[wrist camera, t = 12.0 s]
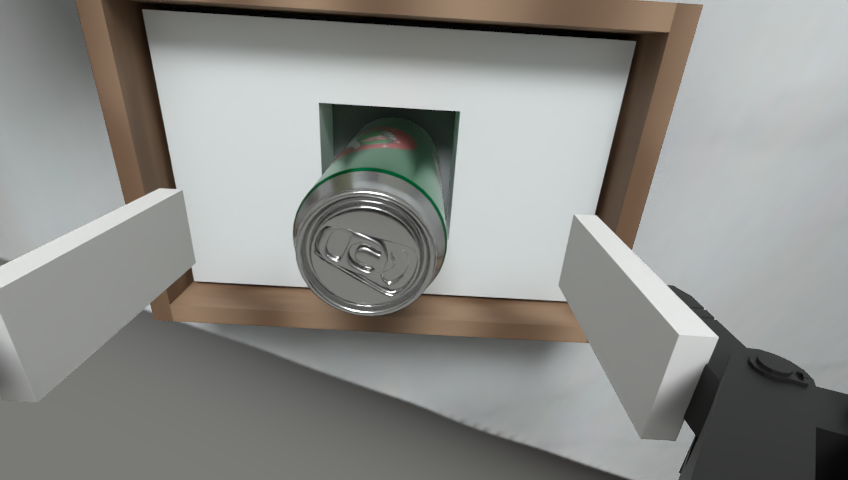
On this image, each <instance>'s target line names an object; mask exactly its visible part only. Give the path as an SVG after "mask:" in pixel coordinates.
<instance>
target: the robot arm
mask: <svg viewBox="0 0 848 480" xmlns="http://www.w3.org/2000/svg"><path fill="white" fill-rule="evenodd" d="M195 263H196V261H195V255H194V250H193V244H192V239H191V233H190V228H189V222H188V217H187V211H186V206H185V200H184V195H183V190H180V189H164V188H159V189H157V190H155V191H153V192H151V193H149V194H147V195H145V196H143V197H141V198H139V199H137V200H135V201H133V202H131V203H129V204H127V205H124V206H122V207H120V208H118V209H116V210H114V211H112V212H110V213H108V214H106V215H104V216H102V217H100V218H98V219H96V220H94V221H92V222H90V223H88V224H86V225H84V226H82V227H80V228H78V229H76V230H74V231H71V232H69V233H67V234H65V235H63V236H61V237H59V238H57V239H55V240H53V241H51V242H49V243H47V244H45V245H43V246H41V247H39V248H37V249H35V250H33V251H31V252H29V253H27V254H25V255H23V256H21V257H18V258H16V259H14V260H12V261H10V262H8V263H6V264H4V265H2V266H0V397H1V399H2V400H6V401H22V402H39V401H40V400H41V399H42V398H43V397H44V396H45V395H47V393H49V392H50V391H51V390H52V389H53V388H54V387H55V386H57V385H58V384H59V383H60V382H61V381H62V380H63V379H65V378H66V377H67V376H68V375H69V374H70V373H71V372H73V371H74V370H75V369H76V368H77V367H78V366H79V365H80V364H82V363H83V362H84V361H85V360H86V359H87V358H89V356H91V355H92V354H93V353H94V352H95V351H97V349H99V348H100V347H101V346H102V345H103V344H104V343H105V342H107V341H108V340H109V339H110V338H111V337H112V336H114V335H115V334H116V333H117V332H118V331H119V330H120V329H121V328H123V327H124V326H125V325H126V324H127V323H128V322H129V321H131V320H132V319H133V318H134V317H135V316H136V315H137V314H139V312H141V311H142V310H143V309H144V308H145V307H147V306H148V305H149V304H150V303H151V302H152V301H153V300H154V299H156V298H157V297H158V296H159V295H160V294H161V293H162V292H164V291H165V290H166V289H167V288H168V287H169V286H170V285H172V284H173V283H174V282H175V281H176V280H177V279H178V278H179V277H181V276H182V275H183V274H184V273H185V272H186V271H187V270H189V269H190V268H191V267H192V266H193V265H194V264H195ZM558 286H559V288H560V289H561V291H562V293H563V295H564V297H565V299H566V301H567V302H568V304H569V306H570V308H571V310H572V312H573V314H574V316H575V317H576V319H577V321H578V323H579V325H580V327H581V329H582V330H583V332H584V334H585V336H586V338H587V340H588V342H589V343H590V345H591V347H592V349H593V351H594V353H595V355H596V356H597V358H598V360H599V362H600V364H601V366H602V368H603V369H604V371H605V373H606V375H607V377H608V379H609V381H610V383H611V384H612V386H613V388H614V390H615V392H616V394H617V396H618V397H619V399H620V401H621V403H622V405H623V407H624V409H625V410H626V412H627V414H628V416H629V418H630V420H631V422H632V423H633V425H634V427H635V429H636V431H637V433H638V435H639V436H640V438H641V439H654V440H670V441H676V439H677V437H678V434H679V432H680V429H681V427H682V425H683V422H684V420H685V421H686V422H687V423H688V425H689V426H690V428H691V429H692V431H693V432H694V434H695V437H694V440H693V442H692V444H691V446H690V449H689V451H688V453H687V455H686V458H685V460H684V462H683V465H682V467H681V469H680V471H679V473H681V474H680V477H679V480H848V394H844V393H840V392H836V391H832V390H828V389H824V388H820V387H816V385H815V383H814V380H813V379H812V378H811V377H810V376H809V375H808V374H807V373H806V372H805V371H804V370H803V369H801V368H800V367H798V366H797V365H795V364H794V363H792V362H791V361H789V360H786V359H784V358H782V357H780V356H778V355H775V354H772V353H769V352H766V351H763V350H759V349H751V348H746V347H745V346H744V345H743V344H742V343H741V342H740V341H739V340H737V339H736V338H735V337H734V336H733V335H732V334H731V333H730V332H729V331H728V330H727V329H726V328H725V327H724V326H723V325H722V324H720V323H719V322H718V321H717V320H714V317H713V316H712V315H711V314H710V313H709V312H708V311H707V310H704V308H703V307H702V306H701V305H700V304H699V303H698V302H697V301H696V300H695V299H694V298H693V297H692V296H690V295H689V294H687V293H685V292H683V291H682V290H680V289H678V288H676V287H675V286H671V285H666V284H665V283H664V282H663V281H662V280H661V279H660V278H659V277H658V276H657V275H656V274H655V273H654V272H653V271H652V270H651V269H650V268H649V267H648V266H647V265H646V264H645V263H644V262H643V261H642V260H641V259H640V258H639V257H638V256H637V255H636V254H635V253H634V252H633V251H632V250H631V249H630V248H629V247H628V246H627V245H626V244H625V243H624V242H623V241H622V240H621V239H620V238H619V237H618V236H617V235H616V234H615V233H614V232H613V231H612V230H611V229H610V228H609V227H608V226H607V225H606V224H605V223H604V222H603V221H602V220H601V219H600V218H598V217H597V216H596V215H581V214H574V215H573V220H572V224H571V229H570V234H569V238H568V243H567V247H566V252H565V257H564V261H563V266H562V271H561V275H560V280H559V284H558Z"/></svg>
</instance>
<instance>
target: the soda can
mask: <svg viewBox="0 0 848 480" xmlns="http://www.w3.org/2000/svg"><path fill="white" fill-rule="evenodd" d="M293 244H294V248H295V252H296V261H297V265H298V269H299V271H300V273H301V275H302V278H303V279H304V281H305V282H306V284H307V286H308V287H309V288H310V289H311V290H312V292H313V293H314V294H315V295H316V296H318V297H319V298H320V299H321V300H322V301H324V302H325V303H327V304H328V305H330V306H331V307H333V308H336V309H338V310H340V311H343V312H346V313H349V314H353V315H359V316H382V315H386V314H391V313H394V312H396V311H399V310H401V309H403V308H405V307H407V306H409V305H410V304H411V303H413V302H414V301H415V300H417V299H418V298H419V297H420V296H421V295H422V293H423V292H424V291H425V290H426V288H427V287H428V286H429V285H430V284H431V283H432V282H433V281H434V280H435V278H436V277H437V275H438V274H439V272H440V270H441V268H442V265H443V263H444V260H445V256H446V252H447V232H446V222H445V213H444V203H443V194H442V184H441V175H440V165H439V156H438V152H437V149H436V146H435V144H434V142H433V140H432V139H431V137H430V136H429V135H428V134H427V133H426V131H425V130H423V129H422V128H421V127H420V126H418V125H417V124H415V123H413V122H411V121H409V120H406V119H402V118H396V117H388V118H381V119H378V120H375V121H373V122H371V123H369V124H367V125H366V126H364V127H363V128H362V129H361V130H360V131H359V132H358V133H357V134H356V135H355V136H354V138H353V139H352V140H351V141H350V142H349V144H348V145H347V146H346V147H345V148H344V150H343V151H342V152H341V153H340V155H339V156H338V157H337V158H336V159H335V161H334V162H333V163H332V164H331V165H330V167H329V168H328V169H327V170H326V171H325V173H324V174H323V175H322V176H321V177H320V179H319V180H318V181H317V182H316V183H315V185H314V186H313V187H312V188H311V189H310V191H309V192H308V193H307V195H306V196H305V197H304V199H303V200H302V202H301V204H300V206H299V208H298V210H297V212H296V216H295V219H294V224H293Z"/></svg>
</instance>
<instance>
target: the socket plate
mask: <svg viewBox="0 0 848 480" xmlns="http://www.w3.org/2000/svg"><path fill="white" fill-rule="evenodd" d="M142 12H143V18H144V23H145V28H146V33H147V38H148V44H149V49H150V54H151V59H152V64H153V70H154V75H155V80H156V85H157V91H158V96H159V101H160V106H161V111H162V117H163V122H164V127H165V132H166V137H167V143H168V148H169V153H170V158H171V163H172V169H173V174H174V179H175V184H176V189H180V190H183V195H184V200H185V206H186V211H187V217H188V222H189V228H190V233H191V239H192V244H193V250H194V255H195V261H196V263H195V264H194V265H193V266H192V273H193V278H194V281H201V282H219V283H238V284H256V285H275V286H293V287H308V286H307V284H306V282H305V281H304V279H303V278H302V275H301V273H300V271H299V269H298V265H297V261H296V252H295V248H294V244H293V224H294V219H295V216H296V212H297V210H298V208H299V206H300V204H301V202H302V200H303V199H304V197H305V196H306V195H307V193H308V192H309V191H310V189H311V188H312V187H313V186H314V185H315V183H316V182H317V181H318V180H319V179H320V177H321V176H322V175H323V174H324V173H325V171H326V170H327V169H328V168H329V167H330V165H331V164H332V163H333V162H334V144H333V111H332V104H347V105H364V106H380V107H396V108H412V109H429V110H445V111H456V114H455V125H454V137H453V148H452V160H451V172H450V183H449V195H448V207H447V218H446V219H445V222H446V232H447V252H446V256H445V260H444V263H443V265H442V268H441V270H440V272H439V274H438V275H437V277H436V278H435V280H434V281H433V282H432V283H431V284H430V285H429V286H428V287H427V288H426V290H425V291H424V292H423V293H422V294H441V295H459V296H477V297H496V298H514V299H533V300H551V301H566V299H565V297H564V295H563V293H562V291H561V289H560V288H559V286H558V284H559V280H560V275H561V271H562V266H563V261H564V257H565V252H566V247H567V243H568V238H569V234H570V229H571V224H572V220H573V215H574V214H581V215H595V211H596V207H597V203H598V199H599V195H600V191H601V187H602V182H603V178H604V174H605V170H606V166H607V162H608V157H609V153H610V149H611V145H612V141H613V137H614V133H615V128H616V124H617V120H618V116H619V112H620V108H621V104H622V99H623V95H624V91H625V87H626V83H627V79H628V75H629V70H630V66H631V62H632V58H633V54H634V50H635V46H636V41H625V40H610V39H595V38H579V37H564V36H548V35H533V34H517V33H502V32H486V31H471V30H455V29H440V28H425V27H409V26H394V25H378V24H363V23H347V22H332V21H316V20H301V19H286V18H270V17H255V16H239V15H224V14H208V13H193V12H177V11H162V10H146V9H142Z"/></svg>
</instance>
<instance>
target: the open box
mask: <svg viewBox="0 0 848 480" xmlns="http://www.w3.org/2000/svg"><path fill="white" fill-rule="evenodd" d="M75 2H76V6H77V10H78V14H79V19H80V23H81V27H82V31H83V35H84V39H85V43H86V47H87V51H88V55H89V59H90V63H91V67H92V71H93V75H94V79H95V83H96V87H97V91H98V95H99V99H100V103H101V107H102V111H103V115H104V119H105V123H106V127H107V131H108V135H109V139H110V143H111V148H112V152H113V156H114V160H115V164H116V168H117V172H118V176H119V180H120V184H121V188H122V192H123V196H124V200H125V204H126V205H127V204H129V203H131V202H133V201H135V200H137V199H139V198H141V197H143V196H145V195H147V194H149V193H151V192H153V191H155V190H157V189H159V188H164V189H176V184H175V179H174V174H173V169H172V163H171V158H170V153H169V148H168V143H167V137H166V132H165V127H164V122H163V117H162V111H161V106H160V101H159V96H158V91H157V85H156V80H155V75H154V70H153V64H152V59H151V54H150V49H149V44H148V38H147V33H146V28H145V23H144V18H143V12H142V9H146V10H162V11H173V9H172V7H176V8H192V9H207V10H223V11H238V12H254V13H269V14H284V15H300V16H315V17H331V18H346V19H361V20H377V21H392V22H408V23H423V24H438V25H454V26H469V27H485V28H500V29H516V30H531V31H546V32H562V33H577V34H593V35H608V36H617V38H616V40H625V41H636V46H635V50H634V54H633V58H632V62H631V66H630V70H629V75H628V79H627V83H626V87H625V91H624V95H623V99H622V104H621V108H620V112H619V116H618V120H617V124H616V128H615V133H614V137H613V141H612V145H611V149H610V153H609V157H608V162H607V166H606V170H605V174H604V178H603V182H602V187H601V191H600V195H599V199H598V203H597V207H596V211H595V215H596V216H597V217H598V218H600V219H601V220H602V221H603V222H604V223H605V224H606V225H607V226H608V227H609V228H610V229H611V230H612V231H613V232H614V233H615V234H616V235H617V236H618V237H619V238H620V239H621V240H622V241H623V242H624V243H625V244H626V245H627V246H628V247H629V248H630V249H631V250H632V248H633V244H634V241H635V237H636V234H637V230H638V227H639V224H640V220H641V217H642V213H643V210H644V206H645V203H646V199H647V196H648V193H649V189H650V186H651V182H652V179H653V175H654V172H655V169H656V165H657V162H658V158H659V155H660V151H661V148H662V144H663V141H664V138H665V134H666V131H667V127H668V124H669V120H670V117H671V114H672V110H673V107H674V103H675V100H676V96H677V93H678V89H679V86H680V83H681V79H682V76H683V72H684V69H685V65H686V62H687V58H688V55H689V52H690V48H691V45H692V41H693V38H694V34H695V31H696V28H697V24H698V21H699V17H700V14H701V10H702V7H703V5H699V4H684V3H669V2H654V1H639V0H75ZM150 305H151V309H152V313H153V317H154V320H162V321H180V322H199V323H218V324H237V325H256V326H275V327H294V328H313V329H332V330H351V331H370V332H389V333H408V334H427V335H446V336H465V337H484V338H503V339H522V340H541V341H560V342H579V343H589V342H588V340H587V338H586V336H585V334H584V332H583V330H582V329H581V327H580V325H579V323H578V321H577V319H576V317H575V316H574V314H573V312H572V310H571V308H570V306H569V304H568V302H567V301H551V300H533V299H514V298H496V297H477V296H459V295H441V294H422V295H421V296H420V297H419V298H418V299H417V300H415V301H414V302H413V303H411V304H410V305H409V306H407V307H405V308H403V309H401V310H399V311H396V312H394V313H391V314H386V315H382V316H359V315H353V314H349V313H346V312H343V311H340V310H338V309H336V308H333V307H331V306H330V305H328V304H327V303H325V302H324V301H322V300H321V299H320V298H319V297H318V296H316V295H315V294H314V293H313V292H312V290H311V289H310V288H309V287H293V286H275V285H256V284H238V283H219V282H201V281H194V278H193V273H192V267H191V268H190V269H189V270H187V271H186V272H185V273H184V274H183V275H182V276H181V277H179V278H178V279H177V280H176V281H175V282H174V283H173V284H172V285H170V286H169V287H168V288H167V289H166V290H165V291H164V292H162V293H161V294H160V295H159V296H158V297H157V298H156V299H154V300H153V301H152V302H151V303H150Z"/></svg>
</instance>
